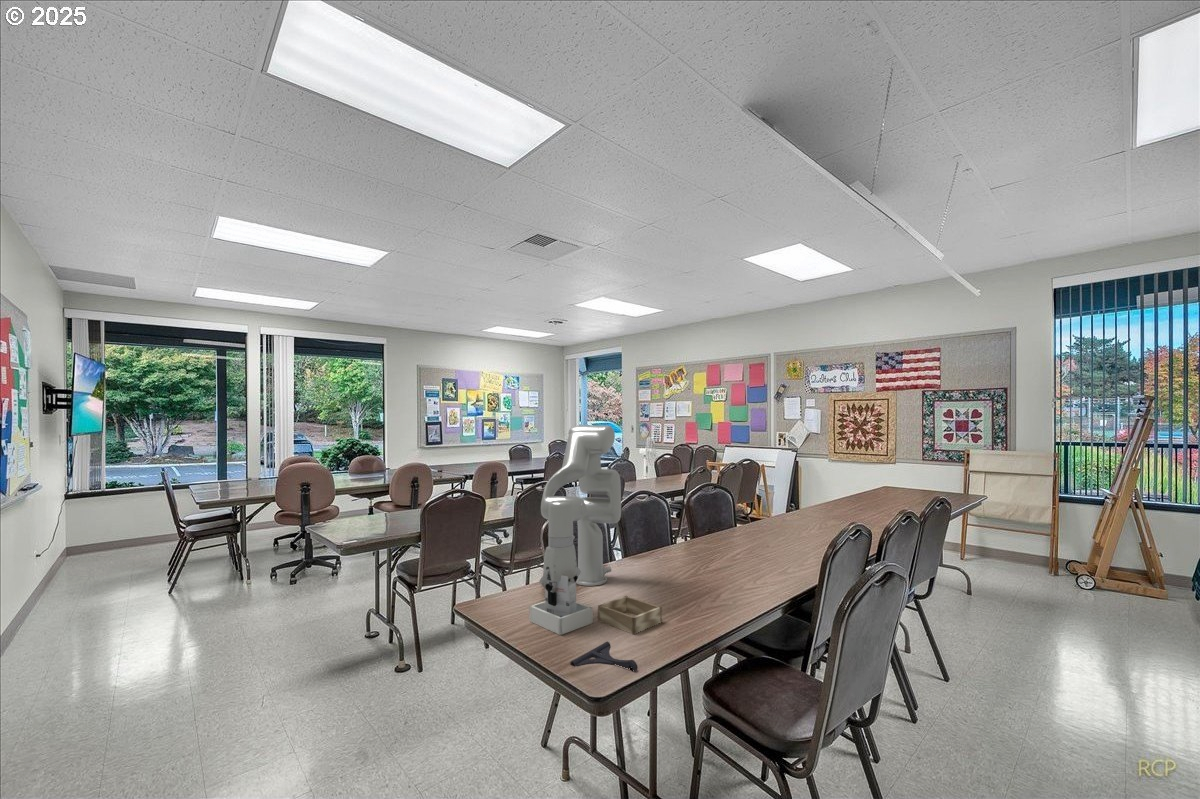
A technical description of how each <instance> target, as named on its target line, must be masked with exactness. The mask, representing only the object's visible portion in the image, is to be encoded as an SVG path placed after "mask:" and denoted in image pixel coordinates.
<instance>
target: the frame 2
mask: <svg viewBox="0 0 1200 799" xmlns="http://www.w3.org/2000/svg"><path fill="white" fill-rule="evenodd" d="M597 608H598V609H597V621H598V622H600V623H603V624H606V625H607V626H611V627H614V628H616V629H618V630H622V631H623V630H624V632H626V631H627V632H626V633H629V632H630V633H629V634H631V633H632V635H637V634H639V633H641V632H643V631H646V630H647V628H648V629H650V628H652V626H653V627H655V626H657V625H659V624H658V623H660V624H661V622H662V623H663V608H662V606H660V605H656V604H653V603H650V602H647V601H645V600H641V599H638V598H634V597H632V596H629V595H625V596H621V597H619V598H616V599H612V600H610V601H607V602H604V603H602V604H598V605H597ZM625 612H628V613H630V614H632V615H629V614H627V613H625ZM633 615H634V616H633ZM656 624H657V625H656ZM654 625H655V626H654ZM645 629H646V630H645ZM640 631H641V632H640ZM638 632H639V633H638ZM636 633H637V634H636Z"/></svg>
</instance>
